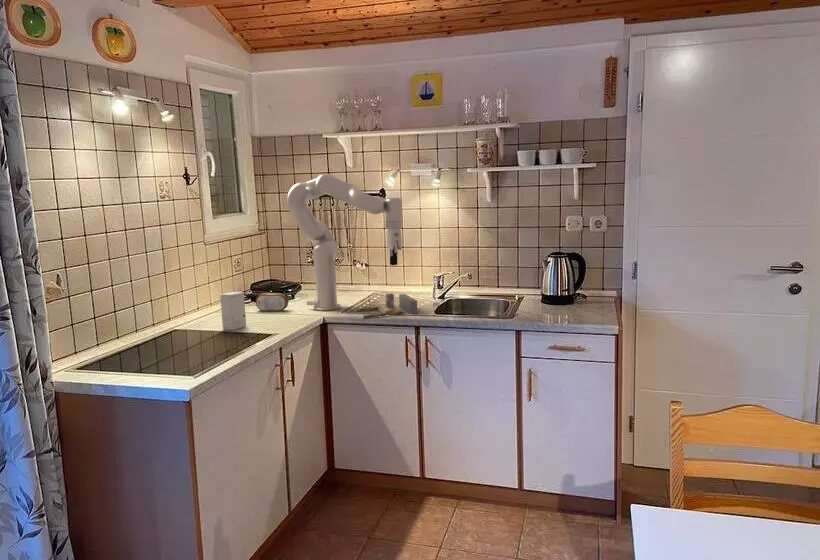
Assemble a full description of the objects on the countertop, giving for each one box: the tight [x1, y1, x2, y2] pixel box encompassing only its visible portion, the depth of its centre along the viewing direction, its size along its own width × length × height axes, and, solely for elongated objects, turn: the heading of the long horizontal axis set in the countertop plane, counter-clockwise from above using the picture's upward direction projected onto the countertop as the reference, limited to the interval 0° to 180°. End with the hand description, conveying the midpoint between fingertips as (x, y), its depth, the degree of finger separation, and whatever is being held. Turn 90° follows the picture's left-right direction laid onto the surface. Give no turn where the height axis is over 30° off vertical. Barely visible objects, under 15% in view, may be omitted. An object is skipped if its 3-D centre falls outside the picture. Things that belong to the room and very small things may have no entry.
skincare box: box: [219, 291, 247, 331], centre depth 263 cm, size 8×6×15 cm
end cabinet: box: [398, 293, 418, 315], centre depth 288 cm, size 3×18×6 cm, turn 17°
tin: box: [255, 292, 289, 312], centre depth 295 cm, size 15×3×8 cm, turn 84°
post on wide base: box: [377, 293, 403, 314], centre depth 285 cm, size 8×11×8 cm
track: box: [355, 306, 404, 319], centre depth 284 cm, size 18×15×1 cm
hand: (393, 264), depth 292 cm, fingers closed
